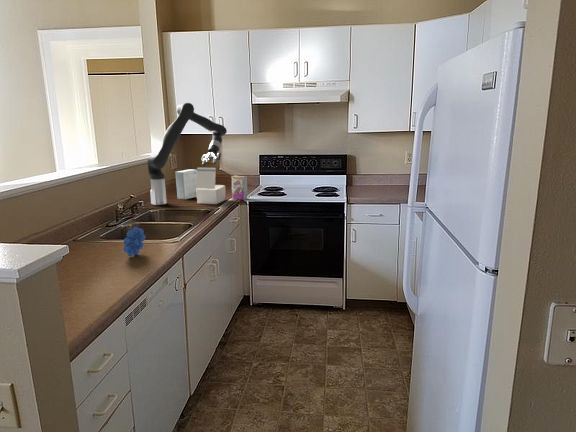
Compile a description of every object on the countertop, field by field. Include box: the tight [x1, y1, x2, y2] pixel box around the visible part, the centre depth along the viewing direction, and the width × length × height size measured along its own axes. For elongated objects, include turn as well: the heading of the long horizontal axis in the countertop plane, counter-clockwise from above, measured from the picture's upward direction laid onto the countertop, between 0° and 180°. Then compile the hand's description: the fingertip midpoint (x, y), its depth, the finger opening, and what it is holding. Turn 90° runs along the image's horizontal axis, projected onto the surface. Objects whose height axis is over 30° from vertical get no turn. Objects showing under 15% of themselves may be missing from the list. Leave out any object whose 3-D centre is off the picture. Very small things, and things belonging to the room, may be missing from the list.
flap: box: [196, 166, 217, 189], centre depth 281 cm, size 1×13×14 cm, turn 79°
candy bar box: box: [230, 175, 249, 201], centre depth 300 cm, size 11×5×16 cm, turn 57°
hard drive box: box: [174, 168, 197, 200], centre depth 306 cm, size 16×8×20 cm, turn 149°
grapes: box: [123, 226, 146, 257], centre depth 177 cm, size 12×7×12 cm, turn 154°
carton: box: [195, 184, 226, 205], centre depth 292 cm, size 17×16×10 cm
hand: (208, 164), depth 293 cm, fingers open, 8 cm apart
